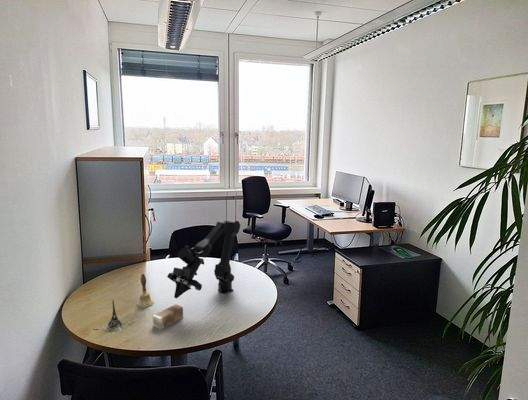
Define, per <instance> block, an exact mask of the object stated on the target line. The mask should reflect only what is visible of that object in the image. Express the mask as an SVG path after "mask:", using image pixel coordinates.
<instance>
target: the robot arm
mask: <svg viewBox="0 0 528 400" xmlns="http://www.w3.org/2000/svg"><path fill="white" fill-rule="evenodd" d="M240 229H241V223H240V222H239V221H238V220H234V219H227V220H218V221H216V224H215V226H214V227H213V228H212V229H211V230H210V232H209V233H208V234H207V236H206V237H204V239H202V240H201V241H199V242H197V244H196V243H195V245H194V246H193V247H190V246H188V245H185V246H184V247H182V248H181V249H180V250H179V251H178V252H177V258H179V259H180V260H181V261H182V262H183V263H185V264H186V266H182V268H181V267H180V268H179V267H174V268H173V270H172V272H169V273H168V274H167V276H166V277H167V278H168V279H169V280H170V281H172V282H174V283H175V291H174V295H173V296H174V298H175V299H178V298H179V297H180V296H182V295H183V294H184V293H186V292H188V291H189V290H192V287H194V289H195V290H197V291H201V289H202V287H203V284H202V283H200V282H199V281H198V280H195V279H194V277H195V276H198V273H197V271H198V270H199V268H200V266H201V265H203V266H204V265H205V261H204V258H207V257H208V256H209V255H210V253H211V251H212V247H213V245H214V243H215V242H216V241H217V239H219V237H220V236H221V234H223V232H224V234H225V236H224V241H223V246H222V252H221V255H220V256H221V257H220V259H219V262H218V264H215V266H214V271H213V272H214V273H213V274H214V276H215V279H216V280H217V281H218V284H217V285H218V286H217V287H218V288H217V291H218V292H220V293H222V294H228V293H230V292H233V291H234V289H233V288H232V286H233V282H234V280H235V276H234V275H233V274H232V268H231V264H230V261H231V257H232V252H233V251H232V250H233V247H234V242H235V238H236V236H237V235H238V234H239V233H240Z"/></svg>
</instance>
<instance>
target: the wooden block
mask: <svg viewBox="0 0 528 400" xmlns="http://www.w3.org/2000/svg"><path fill="white" fill-rule="evenodd" d="M183 318H184V307H183V306H182V305H179V304H176V303H175V304H173V305H171V306H169V307H168V308H165V309H163V310H161V311H159V312H157V313H155V314H153V315H152V321H153V324H152V325H153V326H154V327H155V328H157V329H159V330H162V329H164V328H165V327H168V326H169V325H171V324H173V323H174V322H176V321H177V322H178V321H179V320H180V319H183Z"/></svg>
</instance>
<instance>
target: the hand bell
mask: <svg viewBox="0 0 528 400" xmlns="http://www.w3.org/2000/svg"><path fill="white" fill-rule="evenodd" d="M140 276H141V277H140V284H141V288H142V292H141V293H140V295H139V301H138V302H137V303H136V306H137V308H141V309H143V308H148V307H151V306H153V305H154V303H155V301H154V299H152V298H151V296H150V292H147V287H146V285H147V278H146V275H145V273H141V275H140Z"/></svg>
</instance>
